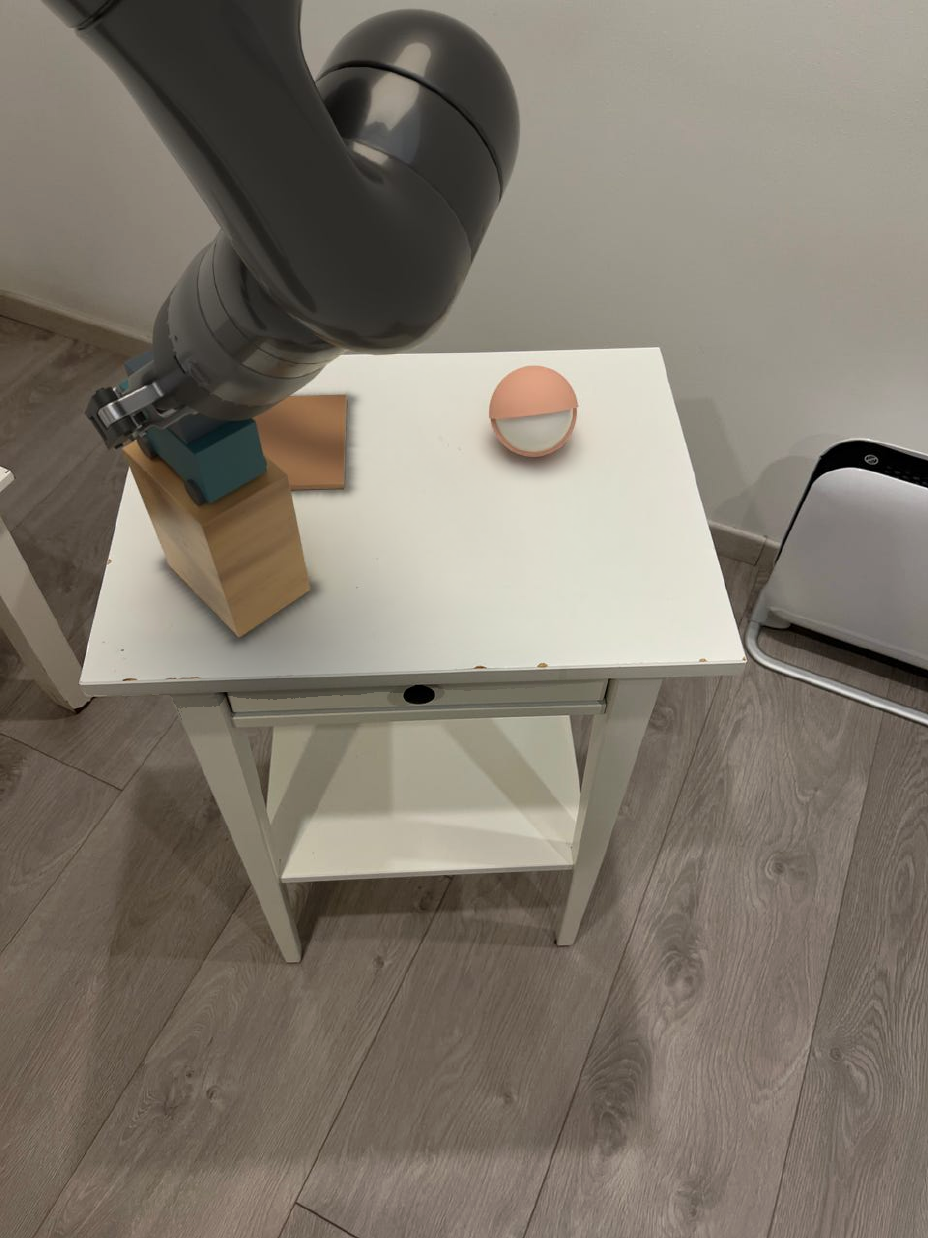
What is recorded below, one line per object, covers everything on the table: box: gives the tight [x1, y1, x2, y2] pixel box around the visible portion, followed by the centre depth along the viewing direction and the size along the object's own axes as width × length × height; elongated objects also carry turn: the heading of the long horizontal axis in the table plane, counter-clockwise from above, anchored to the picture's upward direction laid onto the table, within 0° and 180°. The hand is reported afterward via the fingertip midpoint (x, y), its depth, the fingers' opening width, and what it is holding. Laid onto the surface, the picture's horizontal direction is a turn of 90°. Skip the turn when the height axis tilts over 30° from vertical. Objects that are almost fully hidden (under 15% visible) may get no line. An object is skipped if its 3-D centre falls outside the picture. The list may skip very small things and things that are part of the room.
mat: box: [253, 394, 348, 491], centre depth 80 cm, size 12×12×1 cm
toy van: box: [118, 348, 267, 506], centre depth 57 cm, size 9×5×8 cm, turn 43°
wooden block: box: [121, 440, 311, 638], centre depth 66 cm, size 10×7×13 cm
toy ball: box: [488, 365, 579, 458], centre depth 78 cm, size 8×8×8 cm
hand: (175, 399), depth 57 cm, fingers open, 7 cm apart
